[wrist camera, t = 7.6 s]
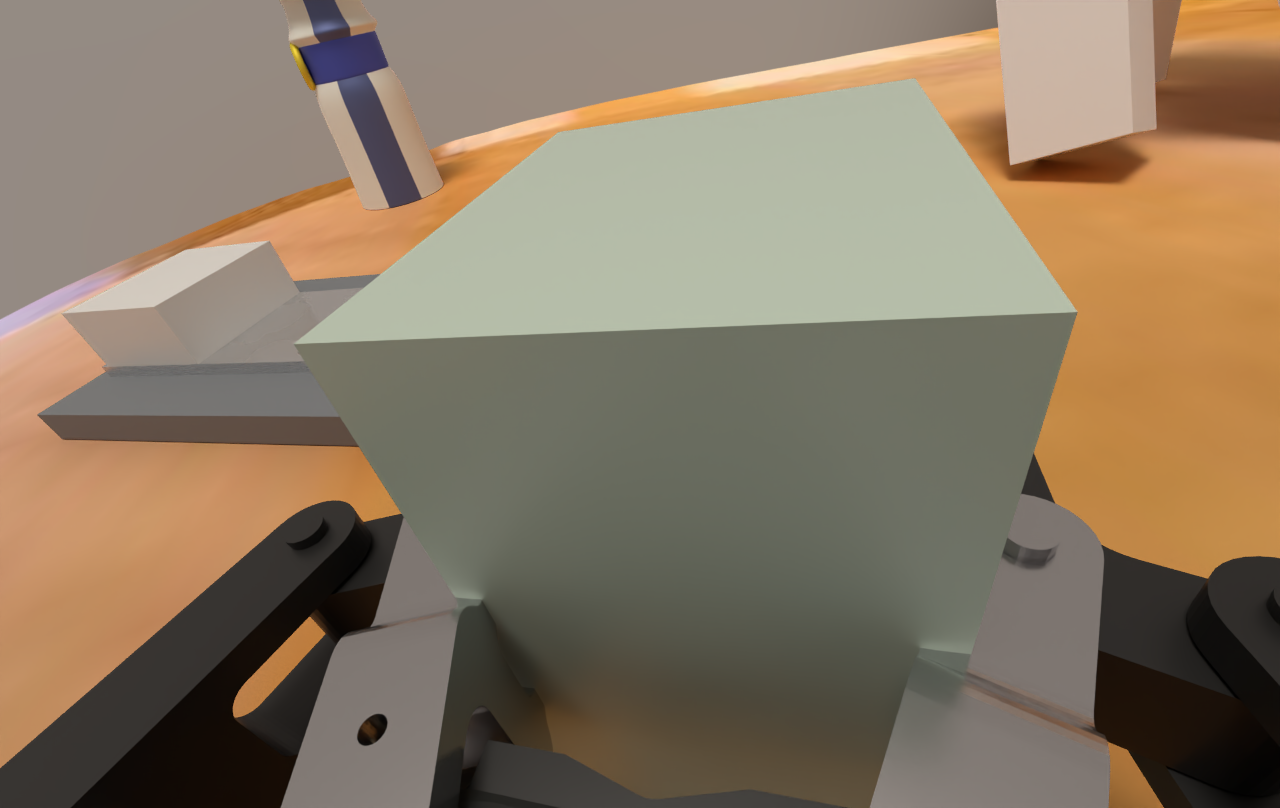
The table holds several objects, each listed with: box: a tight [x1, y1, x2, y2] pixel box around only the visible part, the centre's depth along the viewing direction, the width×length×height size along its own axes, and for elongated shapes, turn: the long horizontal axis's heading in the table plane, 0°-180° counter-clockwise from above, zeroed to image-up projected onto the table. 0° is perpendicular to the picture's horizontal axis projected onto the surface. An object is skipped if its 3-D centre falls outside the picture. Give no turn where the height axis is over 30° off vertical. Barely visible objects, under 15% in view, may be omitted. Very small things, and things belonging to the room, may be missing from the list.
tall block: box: [294, 78, 1077, 808], centre depth 9 cm, size 5×6×11 cm
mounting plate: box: [102, 288, 363, 377], centre depth 27 cm, size 29×7×1 cm, turn 77°
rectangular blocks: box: [61, 241, 300, 367], centre depth 26 cm, size 28×7×3 cm, turn 77°
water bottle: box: [279, 0, 443, 210], centre depth 47 cm, size 8×9×25 cm
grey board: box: [38, 274, 380, 446], centre depth 28 cm, size 31×13×2 cm, turn 77°
